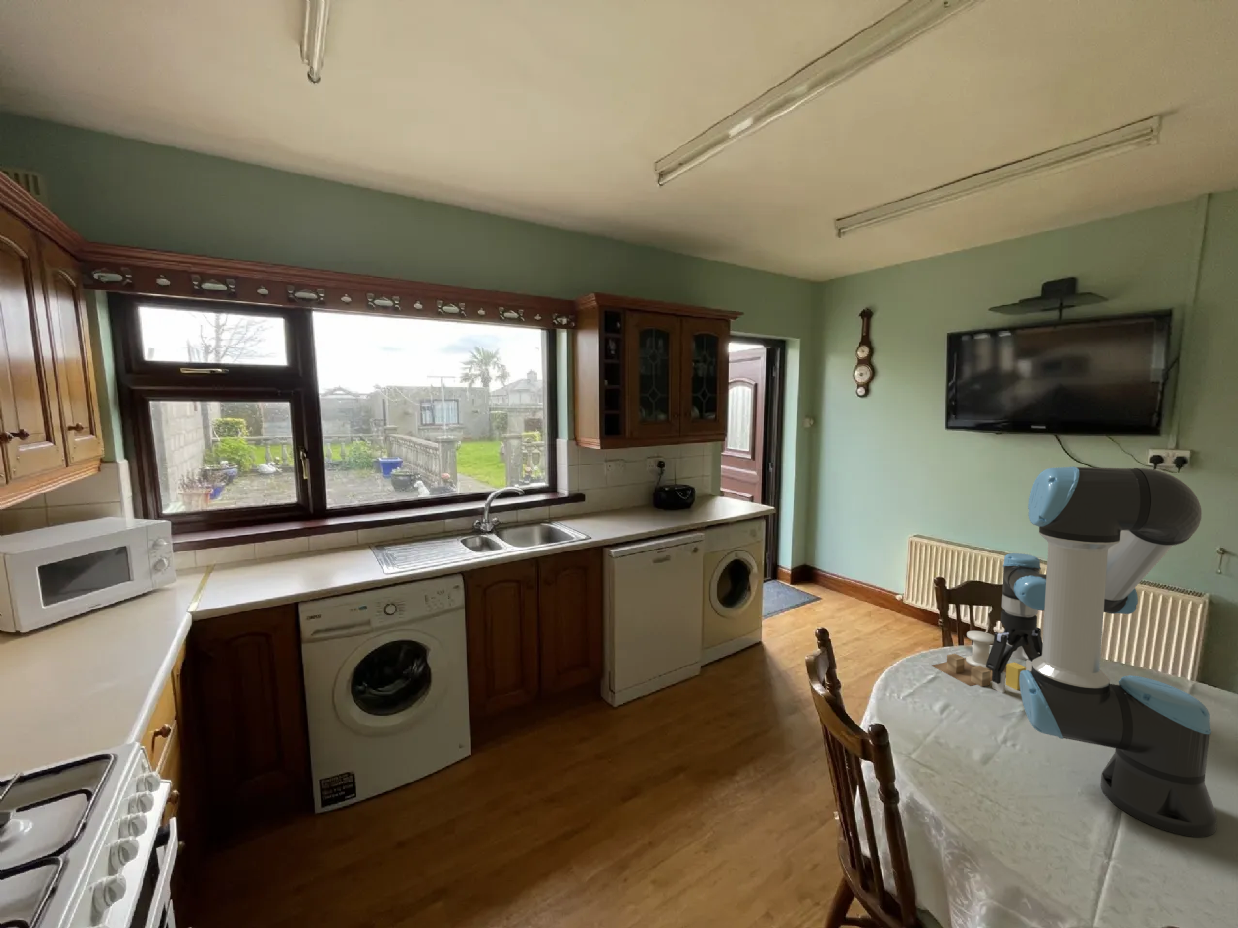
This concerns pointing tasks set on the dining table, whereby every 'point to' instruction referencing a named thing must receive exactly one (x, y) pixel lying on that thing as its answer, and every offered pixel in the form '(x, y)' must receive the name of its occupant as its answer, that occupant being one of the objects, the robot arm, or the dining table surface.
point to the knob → (979, 648)
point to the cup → (1019, 653)
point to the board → (966, 671)
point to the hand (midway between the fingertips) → (1014, 689)
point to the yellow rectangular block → (1013, 675)
